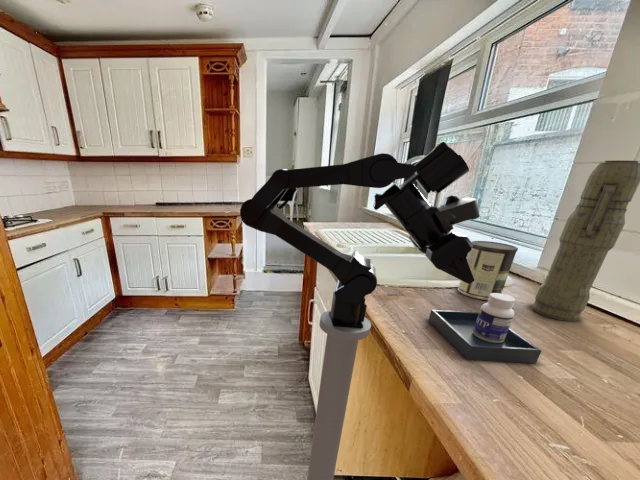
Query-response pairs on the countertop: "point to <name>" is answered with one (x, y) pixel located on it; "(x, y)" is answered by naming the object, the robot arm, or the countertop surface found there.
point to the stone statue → (587, 239)
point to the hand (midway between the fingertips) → (462, 274)
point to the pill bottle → (494, 318)
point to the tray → (461, 336)
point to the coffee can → (488, 268)
